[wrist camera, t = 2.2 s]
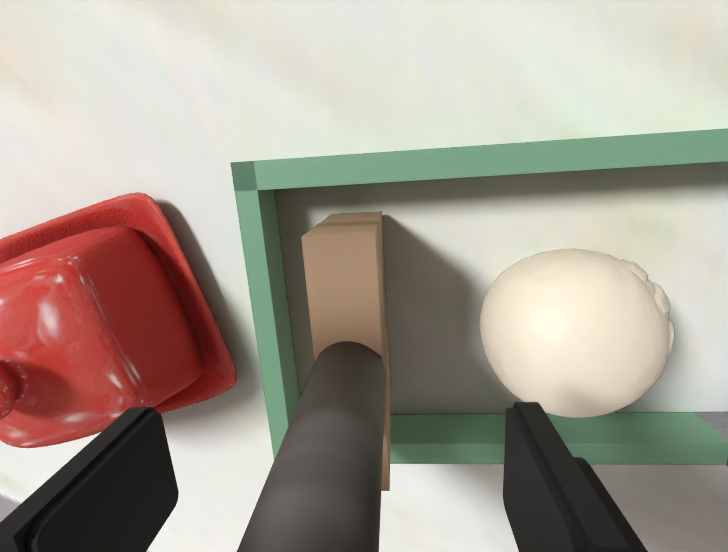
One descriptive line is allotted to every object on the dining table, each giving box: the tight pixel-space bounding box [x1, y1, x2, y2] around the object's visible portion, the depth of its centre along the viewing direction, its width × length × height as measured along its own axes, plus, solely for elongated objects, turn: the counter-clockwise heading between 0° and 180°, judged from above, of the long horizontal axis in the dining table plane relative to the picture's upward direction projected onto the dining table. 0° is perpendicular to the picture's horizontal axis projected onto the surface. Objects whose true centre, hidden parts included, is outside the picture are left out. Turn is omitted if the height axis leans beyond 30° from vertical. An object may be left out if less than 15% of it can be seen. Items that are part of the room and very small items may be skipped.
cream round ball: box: [480, 249, 674, 418], centre depth 16 cm, size 7×7×7 cm
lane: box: [231, 129, 728, 465], centre depth 19 cm, size 15×22×2 cm
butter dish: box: [0, 193, 237, 448], centre depth 18 cm, size 12×12×8 cm
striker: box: [237, 211, 391, 552], centre depth 13 cm, size 10×3×14 cm, turn 4°
